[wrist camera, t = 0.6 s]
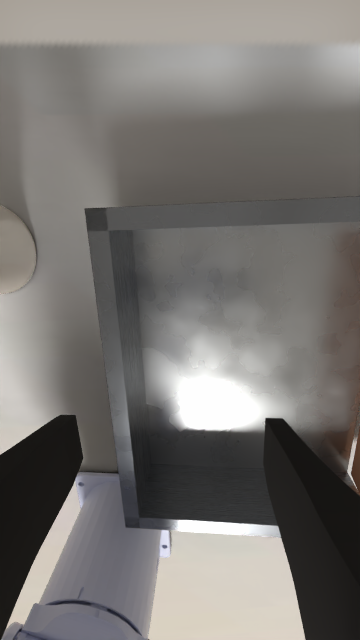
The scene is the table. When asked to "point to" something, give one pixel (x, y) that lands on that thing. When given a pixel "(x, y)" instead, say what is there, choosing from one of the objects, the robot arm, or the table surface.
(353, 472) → the panel
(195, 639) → the table surface
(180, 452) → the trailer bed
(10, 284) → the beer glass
